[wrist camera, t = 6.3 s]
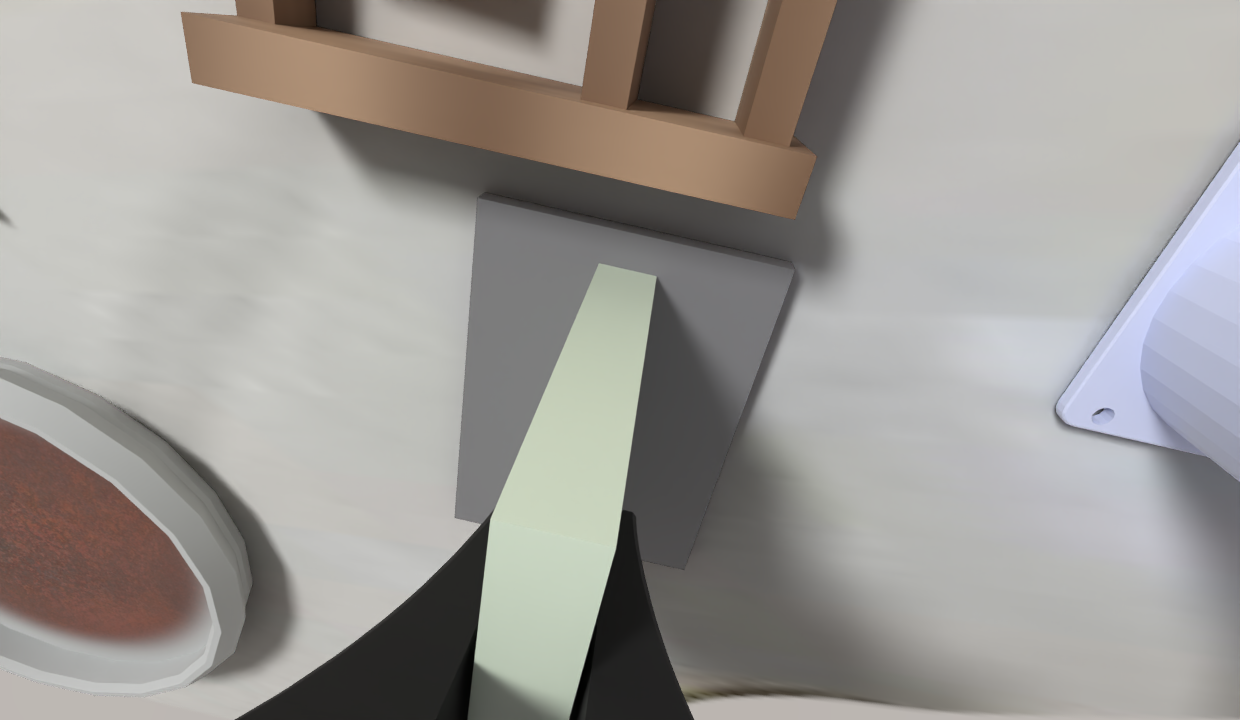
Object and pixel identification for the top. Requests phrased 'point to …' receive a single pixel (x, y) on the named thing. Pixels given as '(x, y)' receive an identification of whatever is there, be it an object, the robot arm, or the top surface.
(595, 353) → the board
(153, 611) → the frying pan
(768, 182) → the rack
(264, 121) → the top surface
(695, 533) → the mat
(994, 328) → the top surface
